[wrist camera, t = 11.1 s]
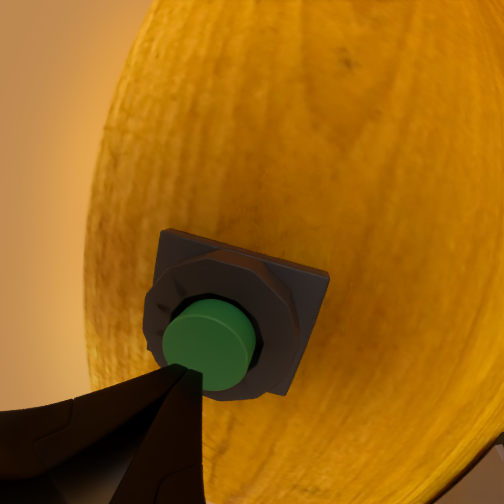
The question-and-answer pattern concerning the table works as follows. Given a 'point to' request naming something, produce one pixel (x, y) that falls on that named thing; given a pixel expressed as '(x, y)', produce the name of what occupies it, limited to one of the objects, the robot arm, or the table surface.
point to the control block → (237, 304)
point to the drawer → (480, 482)
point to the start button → (211, 342)
